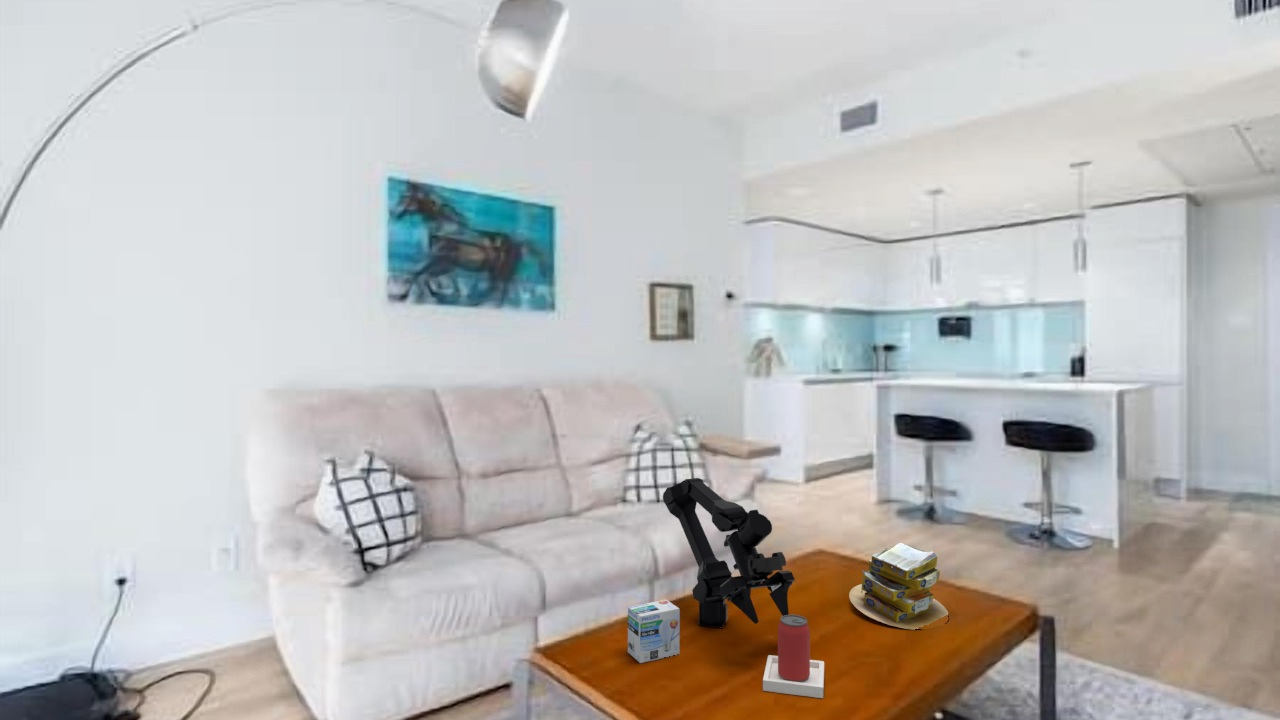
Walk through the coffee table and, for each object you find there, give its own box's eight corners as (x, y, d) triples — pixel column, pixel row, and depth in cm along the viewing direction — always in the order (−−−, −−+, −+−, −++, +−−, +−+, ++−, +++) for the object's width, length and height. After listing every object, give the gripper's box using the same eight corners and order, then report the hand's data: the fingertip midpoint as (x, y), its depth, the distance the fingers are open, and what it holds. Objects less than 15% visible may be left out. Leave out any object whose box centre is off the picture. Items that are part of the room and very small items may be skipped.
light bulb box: (639, 664, 156) (639, 616, 156) (626, 652, 162) (626, 606, 162) (681, 654, 161) (681, 607, 161) (666, 643, 167) (666, 598, 167)
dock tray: (762, 690, 144) (762, 680, 144) (768, 664, 155) (768, 654, 155) (823, 698, 141) (823, 687, 140) (824, 671, 152) (824, 661, 152)
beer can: (802, 686, 143) (802, 628, 143) (772, 677, 147) (772, 621, 147) (814, 673, 149) (814, 617, 149) (785, 665, 153) (785, 611, 152)
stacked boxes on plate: (970, 620, 180) (970, 556, 179) (896, 637, 170) (896, 568, 169) (899, 590, 202) (899, 532, 202) (830, 602, 192) (830, 542, 192)
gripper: (734, 542, 155) (761, 610, 146) (794, 537, 165) (823, 601, 156) (708, 564, 162) (732, 631, 153) (767, 558, 172) (793, 620, 163)
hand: (772, 620), depth 156 cm, fingers open, 9 cm apart
